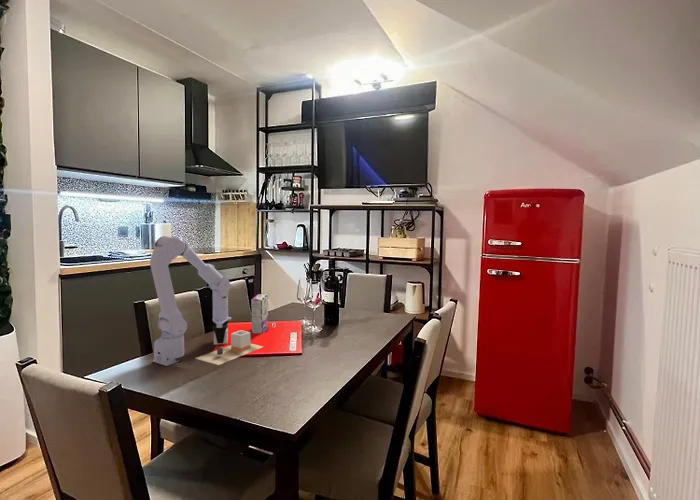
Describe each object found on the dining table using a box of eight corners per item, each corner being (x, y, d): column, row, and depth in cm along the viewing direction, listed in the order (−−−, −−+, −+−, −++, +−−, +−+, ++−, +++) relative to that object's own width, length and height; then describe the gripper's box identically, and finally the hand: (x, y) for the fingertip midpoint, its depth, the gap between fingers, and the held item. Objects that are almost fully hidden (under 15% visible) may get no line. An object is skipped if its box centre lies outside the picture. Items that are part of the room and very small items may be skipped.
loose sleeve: (227, 346, 151) (227, 331, 150) (213, 347, 149) (213, 332, 149) (227, 342, 156) (227, 327, 155) (214, 343, 154) (214, 328, 154)
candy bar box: (257, 329, 176) (257, 294, 174) (268, 329, 176) (268, 294, 174) (250, 336, 165) (250, 299, 163) (262, 337, 165) (262, 299, 163)
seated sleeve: (240, 351, 142) (240, 335, 142) (231, 349, 145) (231, 333, 144) (250, 347, 147) (250, 332, 146) (241, 345, 149) (240, 330, 149)
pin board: (218, 369, 129) (218, 355, 129) (194, 362, 135) (194, 348, 135) (263, 350, 148) (263, 337, 148) (241, 344, 154) (241, 332, 154)
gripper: (230, 310, 145) (230, 345, 146) (231, 302, 159) (232, 334, 160) (210, 311, 144) (211, 347, 145) (213, 303, 158) (214, 335, 159)
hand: (220, 340), depth 152 cm, fingers closed on loose sleeve, 5 cm apart
